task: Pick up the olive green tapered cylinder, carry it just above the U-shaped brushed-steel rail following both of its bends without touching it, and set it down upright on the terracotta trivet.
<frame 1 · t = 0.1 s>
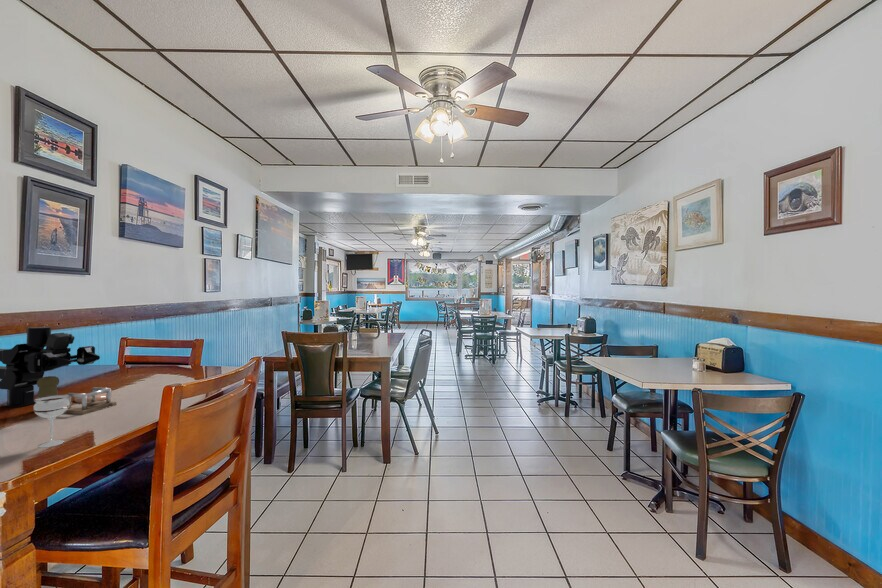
hand: (85, 359, 129), 17 cm above the table, tool horizontal, fingers open, 9 cm apart
rail base: (88, 408, 130), on the table
wineglass: (51, 444, 101), on the table
olive green tapered cylinder: (47, 410, 128), on the table
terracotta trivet: (93, 398, 142), on the table
steel rail: (89, 398, 130), on the rail base, point 4 cm above the table
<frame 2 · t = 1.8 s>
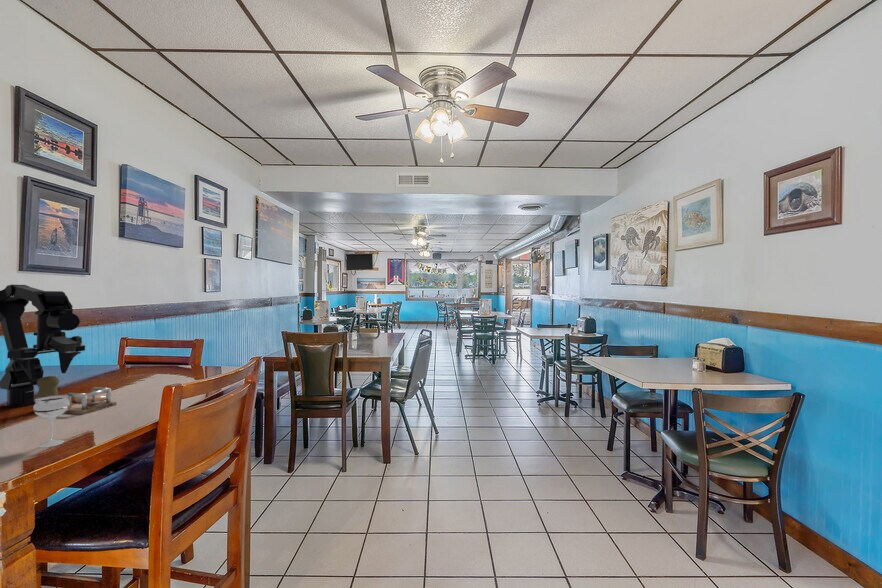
hand: (48, 376, 128), 11 cm above the table, tool pointing down, fingers open, 9 cm apart
nothing on the table moved.
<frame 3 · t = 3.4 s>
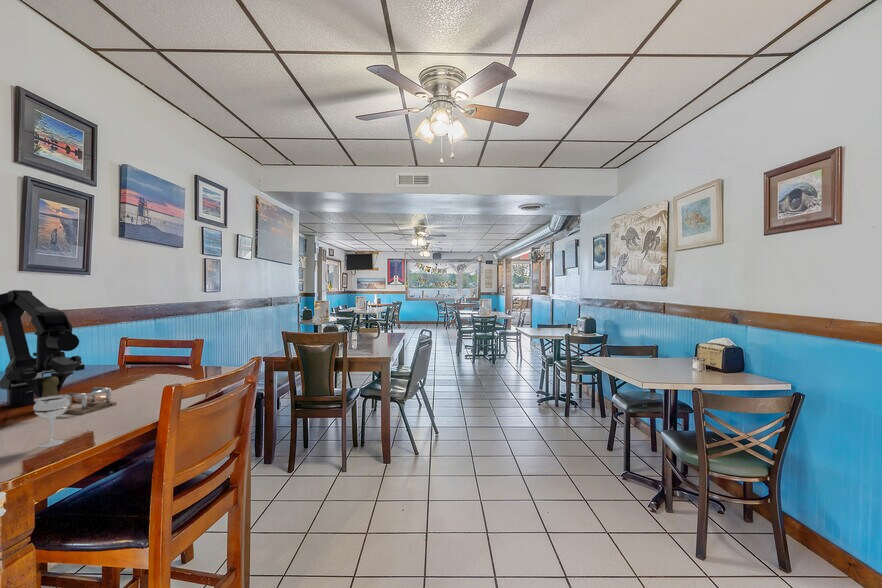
hand: (47, 396, 128), 5 cm above the table, tool pointing down, fingers closed on olive green tapered cylinder, 4 cm apart
olive green tapered cylinder: (47, 410, 128), on the table, touching gripper
everything else where it was.
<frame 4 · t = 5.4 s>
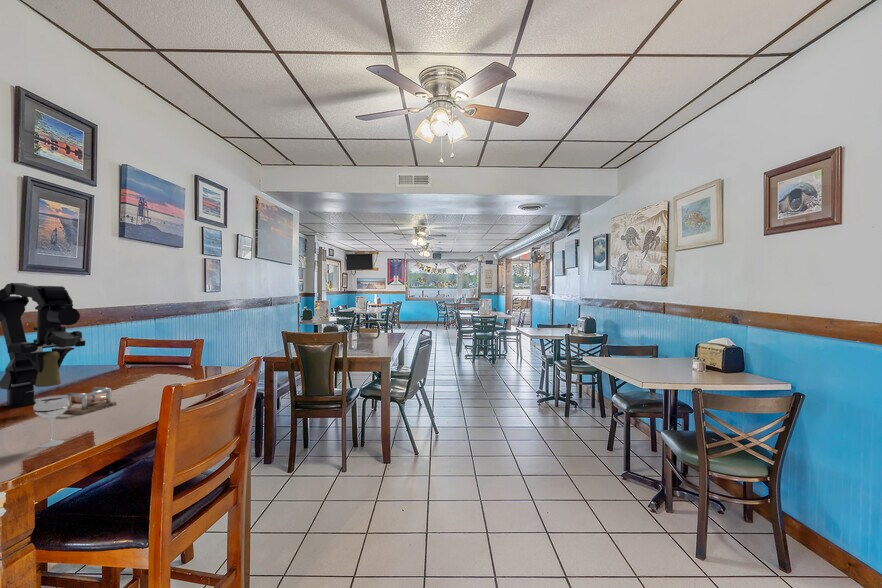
hand: (48, 370, 128), 13 cm above the table, tool pointing down, fingers closed on olive green tapered cylinder, 4 cm apart
olive green tapered cylinder: (48, 385, 128), point 8 cm above the table, touching gripper
everything else where it was.
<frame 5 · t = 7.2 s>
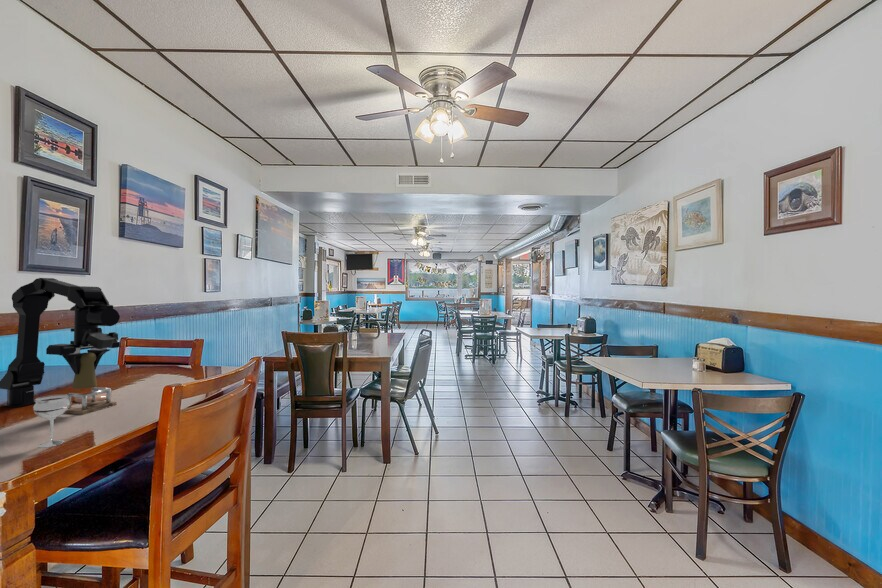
hand: (85, 372, 126), 13 cm above the table, tool pointing down, fingers closed on olive green tapered cylinder, 4 cm apart
olive green tapered cylinder: (84, 387, 126), point 8 cm above the table, touching gripper
everything else where it was.
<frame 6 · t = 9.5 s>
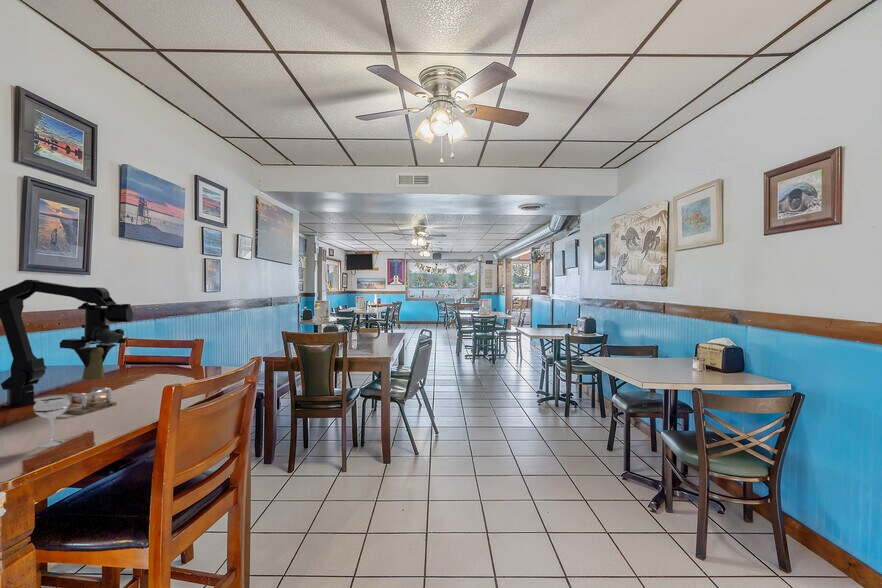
hand: (93, 365, 139), 13 cm above the table, tool pointing down, fingers closed on olive green tapered cylinder, 4 cm apart
olive green tapered cylinder: (93, 378, 139), point 8 cm above the table, touching gripper
everything else where it was.
when the fingers open (7 cm above the table, at t = 11.3 s): olive green tapered cylinder drops 1 cm, resting on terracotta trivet.
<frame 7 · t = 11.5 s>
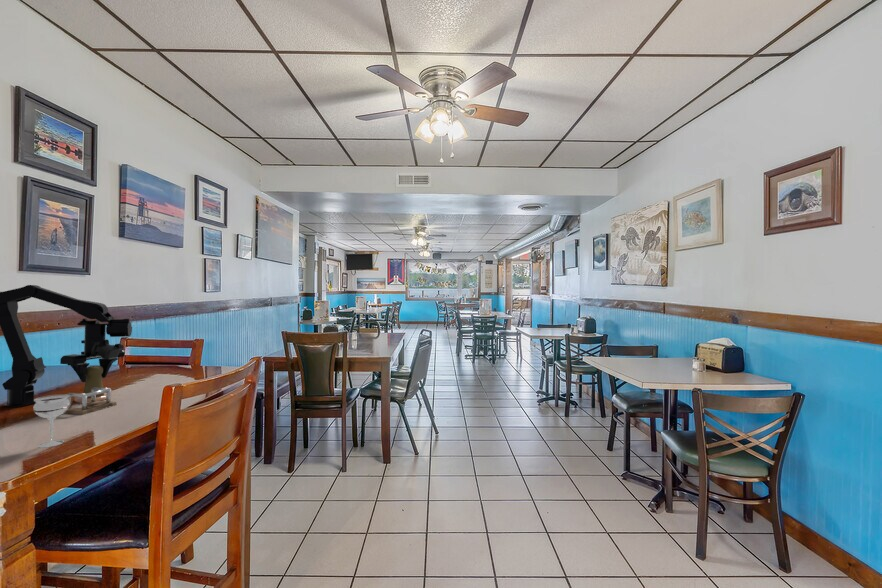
hand: (93, 379, 142), 7 cm above the table, tool pointing down, fingers open, 7 cm apart
olive green tapered cylinder: (93, 396, 142), point 1 cm above the table, touching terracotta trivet
everything else where it was.
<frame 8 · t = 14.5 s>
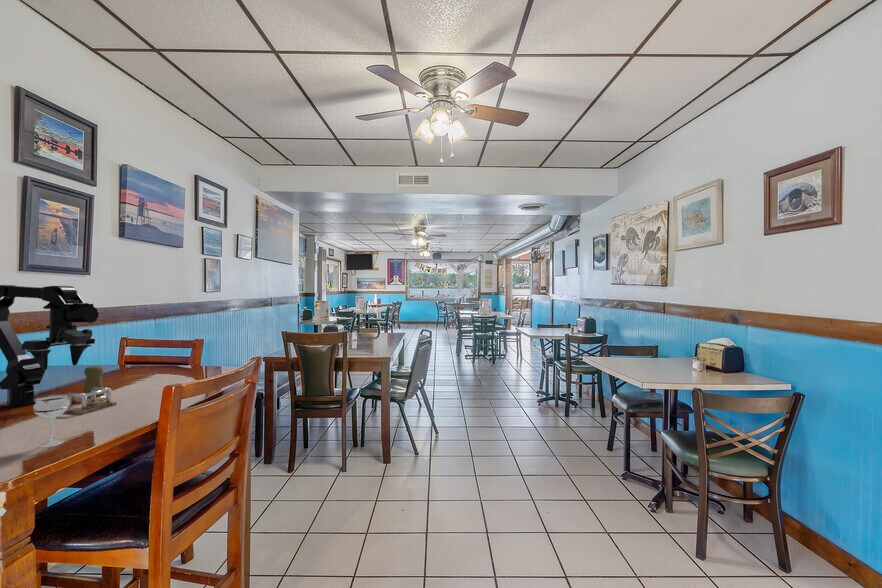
hand: (60, 367, 133), 13 cm above the table, tool pointing down, fingers open, 9 cm apart
nothing on the table moved.
at the end: olive green tapered cylinder 0.1 cm off-centre on the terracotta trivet, point 0.8 cm above the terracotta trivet's base; olive green tapered cylinder tilted 0°; olive green tapered cylinder touching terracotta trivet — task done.
